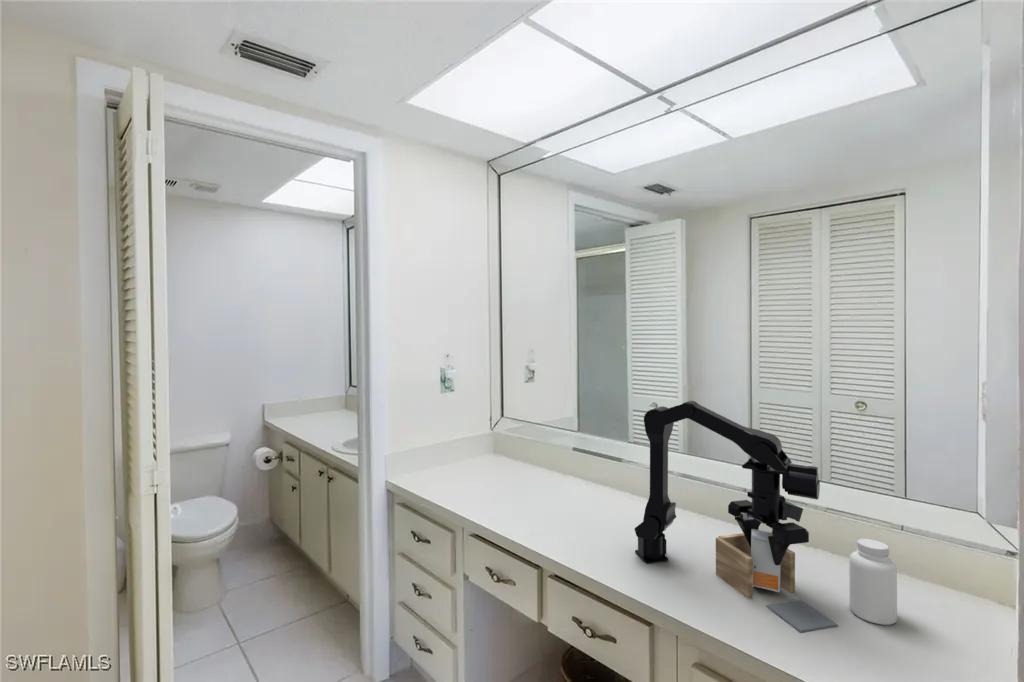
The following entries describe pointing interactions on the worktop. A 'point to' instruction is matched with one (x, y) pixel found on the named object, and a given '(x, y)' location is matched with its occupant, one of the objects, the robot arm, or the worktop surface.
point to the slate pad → (801, 615)
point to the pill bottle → (873, 583)
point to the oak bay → (747, 564)
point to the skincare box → (764, 562)
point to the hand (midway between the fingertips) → (765, 557)
